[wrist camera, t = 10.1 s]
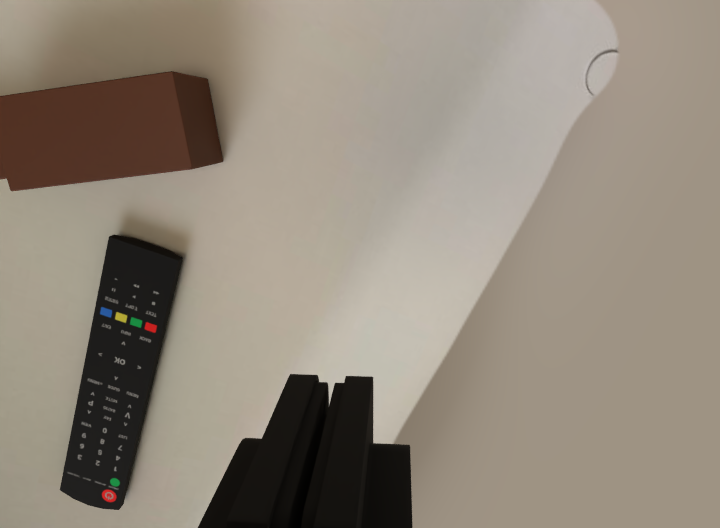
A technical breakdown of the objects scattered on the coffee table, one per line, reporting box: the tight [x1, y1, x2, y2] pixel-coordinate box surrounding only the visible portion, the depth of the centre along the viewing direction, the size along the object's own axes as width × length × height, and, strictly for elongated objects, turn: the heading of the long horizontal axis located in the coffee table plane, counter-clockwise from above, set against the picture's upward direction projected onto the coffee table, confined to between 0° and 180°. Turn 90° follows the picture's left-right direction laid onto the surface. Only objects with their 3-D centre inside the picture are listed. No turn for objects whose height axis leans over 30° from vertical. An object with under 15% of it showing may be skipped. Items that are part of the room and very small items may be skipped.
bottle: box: [0, 71, 223, 191], centre depth 34 cm, size 6×6×18 cm
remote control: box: [60, 235, 183, 510], centre depth 41 cm, size 5×24×1 cm, turn 162°
